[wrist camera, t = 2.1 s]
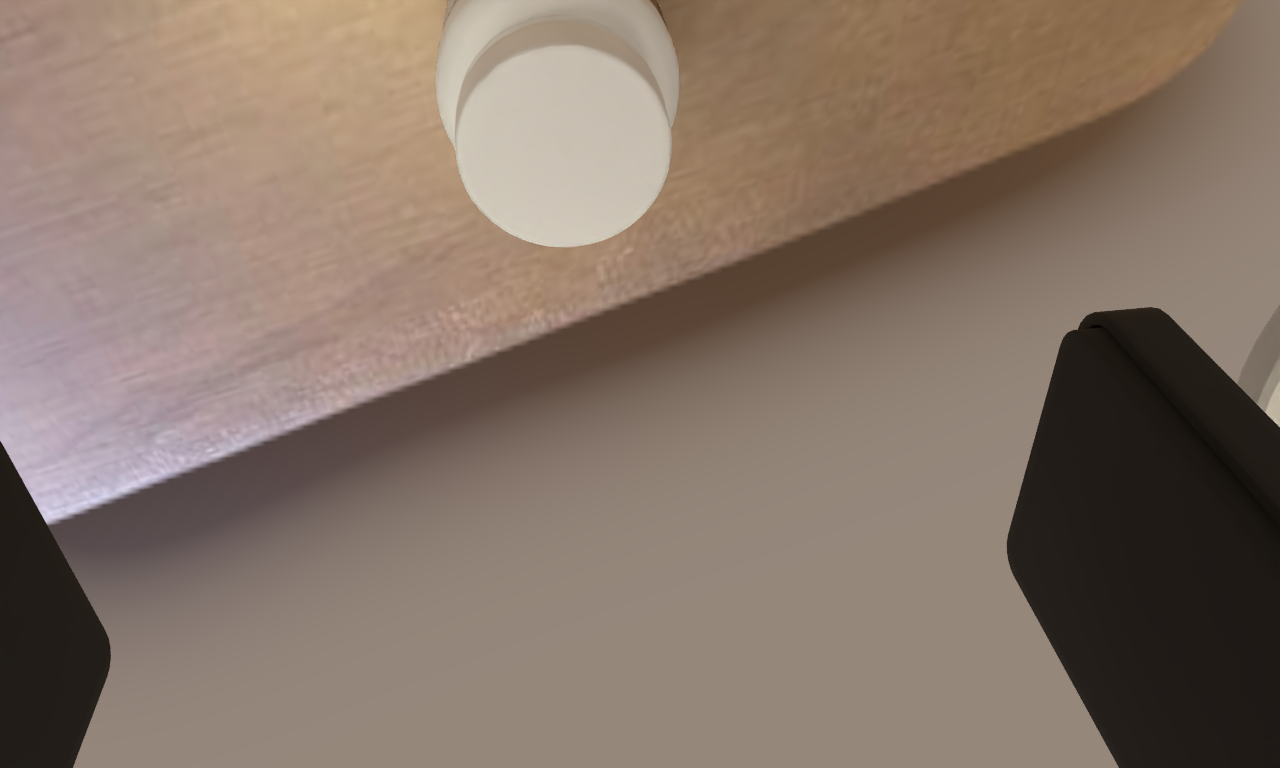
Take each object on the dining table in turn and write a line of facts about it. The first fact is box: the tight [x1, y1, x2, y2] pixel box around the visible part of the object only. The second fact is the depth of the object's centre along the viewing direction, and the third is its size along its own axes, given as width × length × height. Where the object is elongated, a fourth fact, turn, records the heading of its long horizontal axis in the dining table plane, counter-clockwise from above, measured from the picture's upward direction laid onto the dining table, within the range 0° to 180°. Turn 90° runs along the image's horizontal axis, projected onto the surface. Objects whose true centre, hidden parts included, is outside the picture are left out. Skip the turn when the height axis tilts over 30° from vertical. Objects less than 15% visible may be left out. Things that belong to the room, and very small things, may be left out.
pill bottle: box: [435, 0, 680, 247], centre depth 19 cm, size 4×4×8 cm
